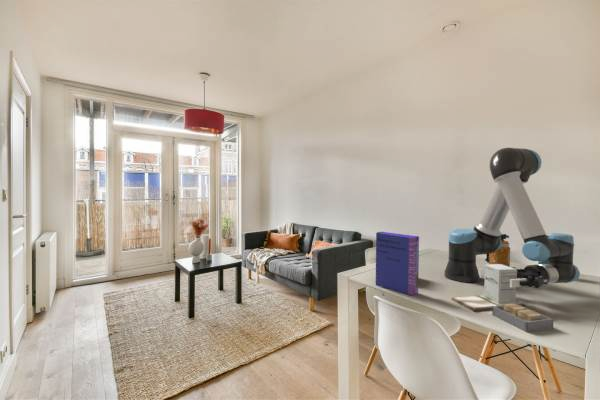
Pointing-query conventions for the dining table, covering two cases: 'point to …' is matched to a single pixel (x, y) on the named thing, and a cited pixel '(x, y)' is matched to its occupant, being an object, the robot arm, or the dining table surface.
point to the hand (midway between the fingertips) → (494, 277)
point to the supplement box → (499, 283)
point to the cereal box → (397, 262)
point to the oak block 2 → (528, 315)
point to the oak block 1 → (512, 309)
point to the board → (480, 303)
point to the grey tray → (524, 325)
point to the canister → (500, 253)
